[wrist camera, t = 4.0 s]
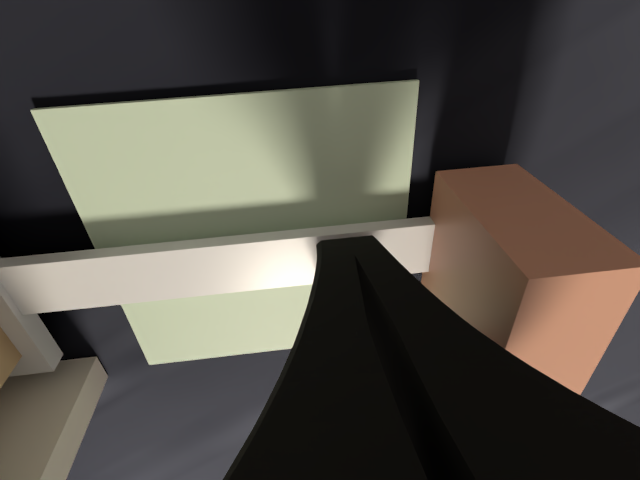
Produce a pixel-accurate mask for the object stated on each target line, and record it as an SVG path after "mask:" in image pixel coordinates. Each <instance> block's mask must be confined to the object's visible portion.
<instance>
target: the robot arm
mask: <svg viewBox="0 0 640 480" xmlns="http://www.w3.org/2000/svg"><path fill="white" fill-rule="evenodd" d="M316 251H317V262H316V269H315V275H314V280H313V284H312V288H311V292H310V296H309V300H308V304H307V307H306V310H305V313H304V316H303V319H302V322H301V325H300V328H299V331H298V334H297V336H296V339H295V342H294V344H293V347H292V349H291V352H290V354H289V356H288V359H287V361H286V363H285V366H284V368H283V370H282V372H281V375H280V377H279V379H278V381H277V383H276V385H275V387H274V389H273V391H272V393H271V395H270V397H269V399H268V401H267V403H266V405H265V407H264V409H263V411H262V413H261V415H260V417H259V418H258V420H257V422H256V424H255V426H254V428H253V430H252V431H251V433H250V435H249V436H248V438H247V440H246V442H245V443H244V445H243V447H242V448H241V450H240V452H239V453H238V455H237V457H236V458H235V460H234V462H233V464H232V465H231V467H230V469H229V470H228V472H227V474H226V475H225V477H224V479H223V480H640V427H638V426H636V425H634V424H632V423H631V422H629V421H627V420H625V419H623V418H621V417H619V416H617V415H615V414H613V413H611V412H609V411H608V410H606V409H604V408H602V407H600V406H598V405H597V404H595V403H593V402H591V401H590V400H588V399H586V398H584V397H582V396H581V395H579V394H577V393H575V392H573V391H572V390H570V389H568V388H567V387H565V386H563V385H562V384H560V383H558V382H557V381H555V380H553V379H552V378H550V377H548V376H547V375H545V374H543V373H542V372H540V371H538V370H537V369H535V368H533V367H532V366H530V365H529V364H527V363H525V362H524V361H522V360H521V359H519V358H518V357H516V356H515V355H513V354H512V353H510V352H509V351H507V350H506V349H504V348H503V347H501V346H500V345H498V344H497V343H496V342H494V341H493V340H491V339H490V338H488V337H487V336H486V335H484V334H483V333H481V332H480V331H478V330H477V329H476V328H474V327H473V326H472V325H470V324H469V323H468V322H466V321H465V320H464V319H463V318H461V317H460V316H459V315H458V314H456V313H455V312H454V311H453V310H452V309H450V308H449V307H448V306H447V305H445V304H444V303H443V302H442V301H441V300H440V299H438V298H437V297H436V296H435V295H434V294H433V293H432V292H430V291H429V290H428V289H427V288H426V287H425V286H424V285H423V284H422V283H421V282H420V281H418V280H417V279H416V278H415V277H414V276H413V275H412V274H411V273H410V272H409V271H408V270H407V269H406V268H405V267H404V266H403V265H402V264H401V263H400V262H399V261H398V260H397V259H396V258H395V257H394V256H393V255H392V254H391V253H390V252H389V251H388V250H387V249H386V248H385V247H384V246H383V245H382V244H381V243H380V242H379V241H378V240H377V239H376V238H375V237H374V236H373V235H369V236H359V237H349V238H339V239H329V240H321V241H320V242H319V243H318V244H317V245H316Z"/></svg>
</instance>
